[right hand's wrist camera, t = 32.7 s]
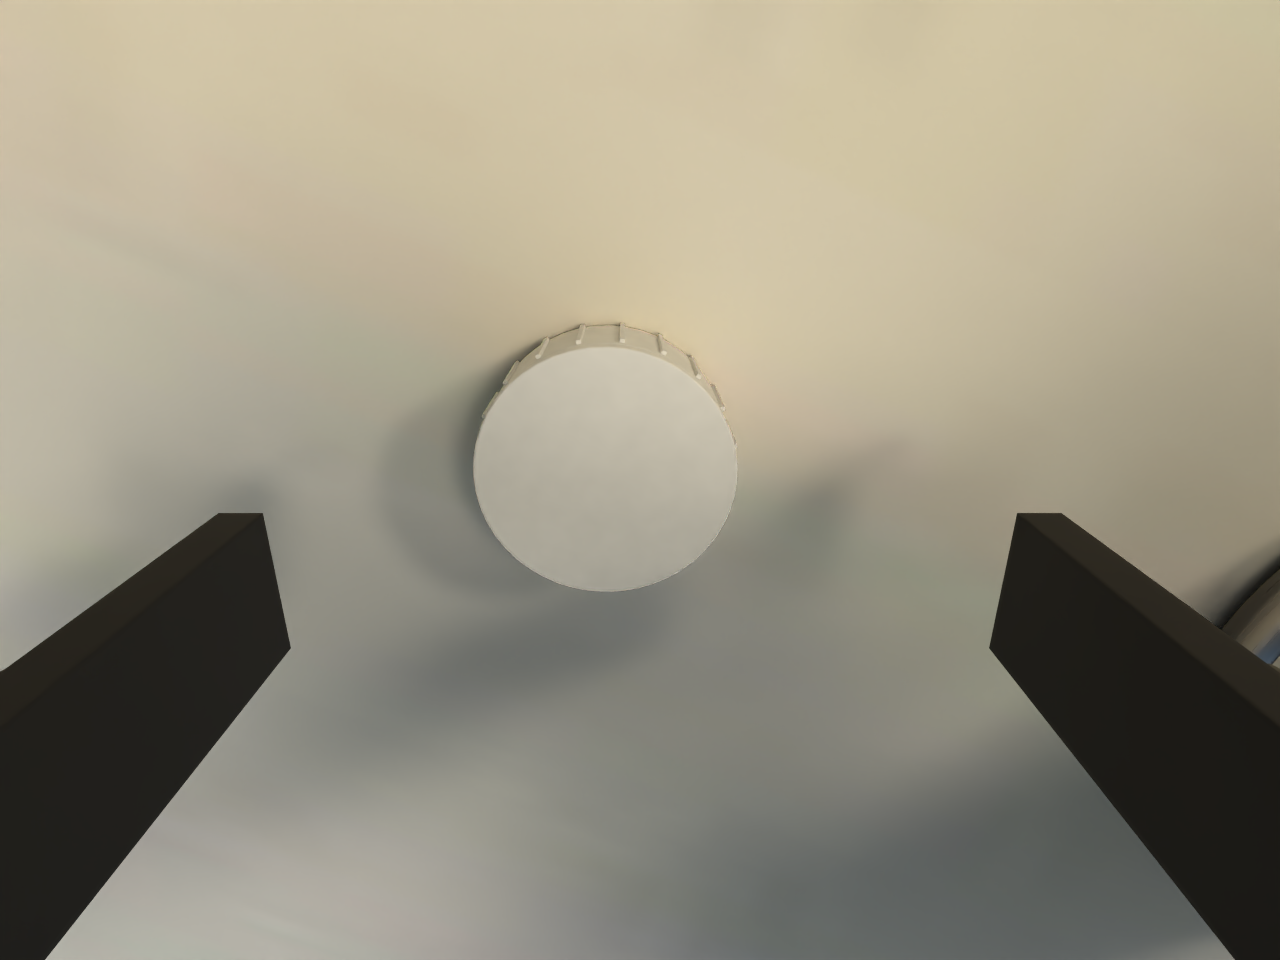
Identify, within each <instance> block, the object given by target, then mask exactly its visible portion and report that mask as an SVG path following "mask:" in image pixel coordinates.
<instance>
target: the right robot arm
mask: <svg viewBox="0 0 1280 960" xmlns="http://www.w3.org/2000/svg"><path fill="white" fill-rule="evenodd" d="M290 648H291V647H290V642H289V637H288V633H287V628H286V623H285V618H284V613H283V609H282V604H281V599H280V594H279V589H278V584H277V580H276V575H275V570H274V565H273V560H272V555H271V551H270V546H269V541H268V536H267V531H266V527H265V522H264V517H263V513H218V514H217V515H215V516H214V517H213V518H211V519H210V520H209V521H207V522H206V523H205V524H203V525H202V526H200V527H199V528H198V529H196V530H195V531H194V532H192V533H191V534H189V535H188V536H187V537H185V538H184V539H183V540H181V541H180V542H179V543H177V544H176V545H174V546H173V547H172V548H170V549H169V550H168V551H166V552H165V553H163V554H162V555H161V556H159V557H158V558H157V559H155V560H154V561H153V562H151V563H150V564H148V565H147V566H146V567H144V568H143V569H142V570H140V571H139V572H137V573H136V574H135V575H133V576H132V577H131V578H129V579H128V580H127V581H125V582H124V583H122V584H121V585H120V586H118V587H117V588H116V589H114V590H113V591H111V592H110V593H109V594H107V595H106V596H105V597H103V598H102V599H101V600H99V601H98V602H96V603H95V604H94V605H92V606H91V607H90V608H88V609H87V610H85V611H84V612H83V613H81V614H80V615H79V616H77V617H76V618H75V619H73V620H72V621H70V622H69V623H68V624H66V625H65V626H64V627H62V628H61V629H59V630H58V631H57V632H55V633H54V634H53V635H51V636H50V637H49V638H47V639H46V640H44V641H43V642H42V643H40V644H39V645H38V646H36V647H35V648H33V649H32V650H31V651H29V652H28V653H27V654H25V655H24V656H23V657H21V658H20V659H18V660H17V661H16V662H14V663H13V664H12V665H10V666H9V667H7V668H6V669H4V670H2V671H0V960H45V959H46V958H47V956H48V955H49V954H50V953H51V951H52V950H53V949H54V948H55V946H56V945H57V944H58V943H59V941H60V940H61V939H62V937H63V936H64V935H65V934H66V932H67V931H68V930H69V929H70V927H71V926H72V925H73V923H74V922H75V921H76V920H77V918H78V917H79V916H80V915H81V913H82V912H83V911H84V910H85V908H86V907H87V906H88V904H89V903H90V902H91V901H92V899H93V898H94V897H95V896H96V894H97V893H98V892H99V891H100V889H101V888H102V887H103V885H104V884H105V883H106V882H107V880H108V879H109V878H110V877H111V875H112V874H113V873H114V872H115V870H116V869H117V868H118V866H119V865H120V864H121V863H122V861H123V860H124V859H125V858H126V856H127V855H128V854H129V853H130V851H131V850H132V849H133V847H134V846H135V845H136V844H137V842H138V841H139V840H140V839H141V837H142V836H143V835H144V833H145V832H146V831H147V830H148V828H149V827H150V826H151V825H152V823H153V822H154V821H155V820H156V818H157V817H158V816H159V814H160V813H161V812H162V811H163V809H164V808H165V807H166V806H167V804H168V803H169V802H170V801H171V799H172V798H173V797H174V795H175V794H176V793H177V792H178V790H179V789H180V788H181V787H182V785H183V784H184V783H185V782H186V780H187V779H188V778H189V776H190V775H191V774H192V773H193V771H194V770H195V769H196V768H197V766H198V765H199V764H200V762H201V761H202V760H203V759H204V757H205V756H206V755H207V754H208V752H209V751H210V750H211V749H212V747H213V746H214V745H215V743H216V742H217V741H218V740H219V738H220V737H221V736H222V735H223V733H224V732H225V731H226V730H227V728H228V727H229V726H230V724H231V723H232V722H233V721H234V719H235V718H236V717H237V716H238V714H239V713H240V712H241V711H242V709H243V708H244V707H245V705H246V704H247V703H248V702H249V700H250V699H251V698H252V697H253V695H254V694H255V693H256V692H257V690H258V689H259V688H260V686H261V685H262V684H263V683H264V681H265V680H266V679H267V678H268V676H269V675H270V674H271V672H272V671H273V670H274V669H275V667H276V666H277V665H278V664H279V662H280V661H281V660H282V659H283V657H284V656H285V655H286V653H287V652H288V651H289V650H290ZM989 648H990V650H991V651H992V652H993V653H994V655H995V656H996V657H997V659H998V660H999V661H1000V662H1001V664H1002V665H1003V666H1004V667H1005V669H1006V670H1007V671H1008V672H1009V674H1010V675H1011V676H1012V678H1013V679H1014V680H1015V681H1016V683H1017V684H1018V685H1019V686H1020V688H1021V689H1022V690H1023V692H1024V693H1025V694H1026V695H1027V697H1028V698H1029V699H1030V700H1031V702H1032V703H1033V704H1034V705H1035V707H1036V708H1037V709H1038V711H1039V712H1040V713H1041V714H1042V716H1043V717H1044V718H1045V719H1046V721H1047V722H1048V723H1049V724H1050V726H1051V727H1052V728H1053V730H1054V731H1055V732H1056V733H1057V735H1058V736H1059V737H1060V738H1061V740H1062V741H1063V742H1064V743H1065V745H1066V746H1067V747H1068V749H1069V750H1070V751H1071V752H1072V754H1073V755H1074V756H1075V757H1076V759H1077V760H1078V761H1079V763H1080V764H1081V765H1082V766H1083V768H1084V769H1085V770H1086V771H1087V773H1088V774H1089V775H1090V776H1091V778H1092V779H1093V780H1094V782H1095V783H1096V784H1097V785H1098V787H1099V788H1100V789H1101V790H1102V792H1103V793H1104V794H1105V795H1106V797H1107V798H1108V799H1109V801H1110V802H1111V803H1112V804H1113V806H1114V807H1115V808H1116V809H1117V811H1118V812H1119V813H1120V814H1121V816H1122V817H1123V818H1124V820H1125V821H1126V822H1127V823H1128V825H1129V826H1130V827H1131V828H1132V830H1133V831H1134V832H1135V833H1136V835H1137V836H1138V837H1139V839H1140V840H1141V841H1142V842H1143V844H1144V845H1145V846H1146V847H1147V849H1148V850H1149V851H1150V853H1151V854H1152V855H1153V856H1154V858H1155V859H1156V860H1157V861H1158V863H1159V864H1160V865H1161V866H1162V868H1163V869H1164V870H1165V872H1166V873H1167V874H1168V875H1169V877H1170V878H1171V879H1172V880H1173V882H1174V883H1175V884H1176V885H1177V887H1178V888H1179V889H1180V891H1181V892H1182V893H1183V894H1184V896H1185V897H1186V898H1187V899H1188V901H1189V902H1190V903H1191V904H1192V906H1193V907H1194V908H1195V910H1196V911H1197V912H1198V913H1199V915H1200V916H1201V917H1202V918H1203V920H1204V921H1205V922H1206V923H1207V925H1208V926H1209V927H1210V929H1211V930H1212V931H1213V932H1214V934H1215V935H1216V936H1217V937H1218V939H1219V940H1220V941H1221V943H1222V944H1223V945H1224V946H1225V948H1226V949H1227V950H1228V951H1229V953H1230V954H1231V955H1232V956H1233V958H1234V959H1235V960H1280V569H1279V570H1278V571H1277V572H1276V573H1275V574H1274V575H1272V576H1271V577H1270V578H1269V579H1268V580H1267V581H1266V582H1264V583H1263V584H1262V585H1261V586H1260V587H1259V588H1258V589H1257V590H1256V591H1255V592H1254V593H1253V594H1252V595H1251V596H1250V597H1249V598H1248V599H1247V600H1246V601H1245V602H1244V603H1243V604H1242V606H1241V607H1240V608H1239V609H1238V610H1237V612H1236V613H1235V614H1234V615H1233V616H1232V617H1231V619H1230V620H1229V621H1228V622H1227V623H1226V624H1225V626H1224V627H1223V628H1222V629H1219V628H1218V627H1216V626H1215V625H1214V624H1212V623H1211V622H1210V621H1208V620H1207V619H1205V618H1204V617H1203V616H1201V615H1200V614H1199V613H1197V612H1196V611H1195V610H1193V609H1192V608H1190V607H1189V606H1188V605H1186V604H1185V603H1184V602H1182V601H1181V600H1179V599H1178V598H1177V597H1175V596H1174V595H1173V594H1171V593H1170V592H1169V591H1167V590H1166V589H1164V588H1163V587H1162V586H1160V585H1159V584H1158V583H1156V582H1155V581H1153V580H1152V579H1151V578H1149V577H1148V576H1147V575H1145V574H1144V573H1143V572H1141V571H1140V570H1138V569H1137V568H1136V567H1134V566H1133V565H1132V564H1130V563H1129V562H1127V561H1126V560H1125V559H1123V558H1122V557H1121V556H1119V555H1118V554H1117V553H1115V552H1114V551H1112V550H1111V549H1110V548H1108V547H1107V546H1106V545H1104V544H1103V543H1101V542H1100V541H1099V540H1097V539H1096V538H1095V537H1093V536H1092V535H1091V534H1089V533H1088V532H1086V531H1085V530H1084V529H1082V528H1081V527H1080V526H1078V525H1077V524H1075V523H1074V522H1073V521H1071V520H1070V519H1069V518H1067V517H1066V516H1065V515H1063V514H1062V513H1017V517H1016V522H1015V527H1014V531H1013V536H1012V541H1011V546H1010V551H1009V555H1008V560H1007V565H1006V570H1005V575H1004V580H1003V584H1002V589H1001V594H1000V599H999V604H998V608H997V613H996V618H995V623H994V628H993V633H992V637H991V642H990V647H989Z"/></svg>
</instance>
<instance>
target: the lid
mask: <svg viewBox="0 0 1280 960" xmlns="http://www.w3.org/2000/svg"><path fill="white" fill-rule="evenodd" d="M502 383H503V384H504V385H503V387H502V389H501V390H500V392H496V393H495V395H494V396H493V398H492V400H491V401H490V403H489V405H488V406H487V408H486V409H485V411H484V413H483V414H482V417H481V418H482V419H484V420H483V423H482V425H481V427H480V430H479V433H478V437H477V440H476V444H475V450H474V454H473V456H474V457H473V478H474V485H475V492H476V495H477V499H478V502H479V506H480V509H481V511H482V513H483V515H484V518H485V520H486V522H487V524H488V525H489V527H490V529H491V530H492V532H493V534H494V535H495V536H496V538H497V539H498V540H499V541H500V543H501V544H502V545H503V546H504V548H505V549H506V550H507V551H508V552H509V553H510V554H511V555H512V556H514V557H515V558H516V559H517V560H518V561H519V562H521V563H522V564H523V565H525V566H526V567H527V568H529V569H530V570H532V571H534V572H535V573H537V574H539V575H541V576H542V577H544V578H547V579H549V580H551V581H554V582H556V583H558V584H562V585H565V586H568V587H572V588H576V589H581V590H587V591H598V592H615V591H626V590H632V589H638V588H641V587H645V586H648V585H652V584H655V583H657V582H659V581H662V580H664V579H667V578H669V577H670V576H672V575H674V574H676V573H678V572H679V571H681V570H683V569H684V568H685V567H687V566H688V565H689V564H691V563H692V562H694V561H695V560H696V559H697V558H698V557H699V556H700V555H701V554H702V553H703V552H704V551H705V550H706V549H707V548H708V547H709V545H710V544H711V543H712V542H713V541H714V539H715V538H716V537H717V535H718V533H719V532H720V530H721V529H722V527H723V525H724V524H725V521H726V519H727V517H728V515H729V513H730V510H731V507H732V504H733V500H734V497H735V492H736V486H737V474H738V463H737V455H736V448H737V443H736V441H735V438H734V436H733V434H732V431H731V429H730V427H729V425H728V422H727V420H726V419H725V416H724V414H723V412H724V411H726V409H725V407H724V404H723V402H722V400H721V398H720V395H719V393H718V391H717V389H716V387H715V385H713V386H711V385H710V383H709V382H708V380H707V379H706V377H705V375H704V374H703V373H702V371H701V370H700V369H699V368H698V366H697V363H696V361H695V359H694V357H693V356H692V355H690V356H689V357H688V356H687V355H686V354H685V353H683V352H682V351H681V350H679V349H678V348H677V347H675V346H674V345H672V344H671V343H669V342H667V341H665V340H664V338H663V335H661V334H658V336H656V335H653V334H650V333H648V332H645V331H642V330H638V329H634V328H629V327H625V323H620V326H612V325H603V326H590V327H586V326H585V324H582V325H580V328H579V329H575V330H572V331H569V332H565V333H562V334H560V335H558V336H556V337H554V338H552V339H550V340H549V338H548V337H546V338H544V339H543V341H542V343H541V345H540V346H538V347H537V348H535V349H534V350H533V351H532V352H531V353H529V354H528V355H527V356H526V357H525V358H524V359H523V360H522V361H521V362H518V361H516V362H515V363H514V365H513V366H512V368H511V369H510V371H509V373H508V374H507V376H506V378H505V379H504V381H503V382H502Z"/></svg>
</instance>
